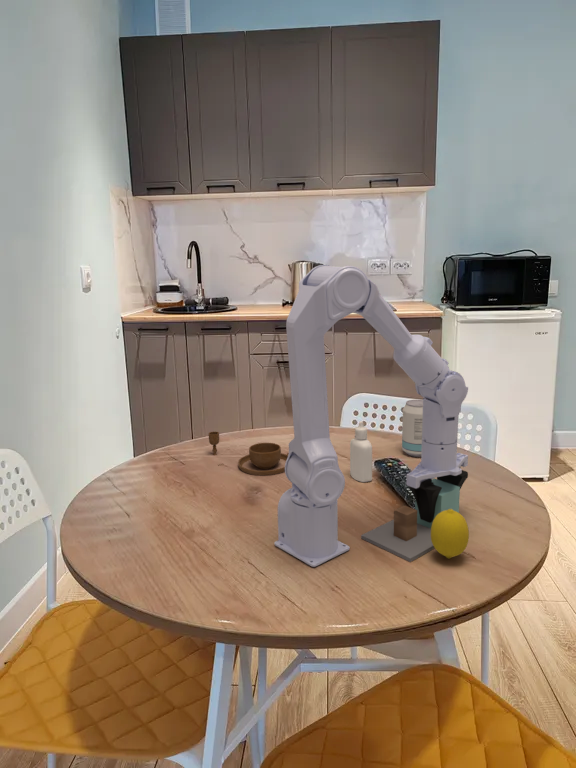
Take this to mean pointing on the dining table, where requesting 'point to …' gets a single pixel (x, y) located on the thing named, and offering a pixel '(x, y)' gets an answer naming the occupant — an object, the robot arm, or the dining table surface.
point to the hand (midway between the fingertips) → (436, 515)
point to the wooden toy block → (405, 523)
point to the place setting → (257, 456)
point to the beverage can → (412, 428)
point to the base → (400, 541)
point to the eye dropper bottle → (361, 455)
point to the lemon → (449, 533)
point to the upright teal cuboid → (443, 500)
